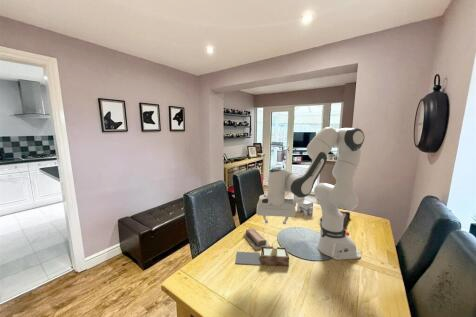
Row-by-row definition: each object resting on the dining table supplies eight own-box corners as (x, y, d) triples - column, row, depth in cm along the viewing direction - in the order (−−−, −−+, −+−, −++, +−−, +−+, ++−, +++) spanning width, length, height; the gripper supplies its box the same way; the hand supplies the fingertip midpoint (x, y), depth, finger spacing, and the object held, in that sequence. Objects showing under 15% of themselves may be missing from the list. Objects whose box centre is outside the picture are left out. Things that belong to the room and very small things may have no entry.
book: (326, 213, 169) (326, 207, 168) (349, 218, 159) (350, 212, 158) (318, 224, 148) (318, 218, 147) (344, 231, 138) (345, 225, 137)
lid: (284, 250, 110) (284, 242, 109) (286, 258, 103) (286, 249, 103) (263, 249, 111) (263, 241, 110) (264, 257, 104) (264, 248, 104)
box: (286, 255, 112) (286, 247, 111) (288, 266, 103) (289, 257, 102) (261, 254, 113) (261, 245, 112) (261, 264, 104) (262, 256, 103)
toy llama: (307, 217, 160) (309, 193, 157) (293, 209, 175) (294, 187, 172) (314, 215, 163) (316, 192, 160) (299, 208, 178) (300, 186, 176)
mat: (259, 253, 113) (259, 252, 113) (260, 265, 103) (260, 264, 103) (237, 252, 114) (237, 251, 114) (235, 263, 105) (235, 263, 105)
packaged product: (243, 229, 132) (256, 226, 136) (243, 236, 132) (256, 233, 136) (255, 243, 115) (270, 239, 119) (255, 251, 116) (270, 247, 120)
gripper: (295, 197, 105) (294, 221, 107) (256, 195, 107) (256, 219, 109) (297, 201, 99) (296, 227, 101) (256, 199, 100) (256, 225, 102)
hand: (275, 223), depth 105 cm, fingers open, 8 cm apart
